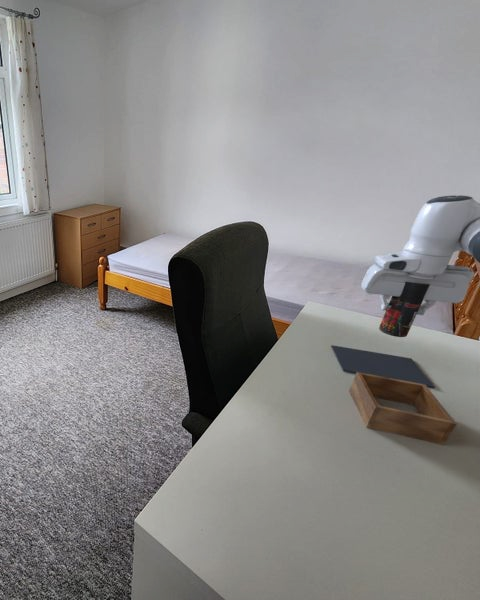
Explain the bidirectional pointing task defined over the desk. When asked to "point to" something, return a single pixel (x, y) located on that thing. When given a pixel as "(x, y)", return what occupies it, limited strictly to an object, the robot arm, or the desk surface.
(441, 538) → the desk surface
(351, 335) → the desk surface
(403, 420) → the wooden box
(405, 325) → the deodorant
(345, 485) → the desk surface
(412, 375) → the desk mat
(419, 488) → the desk surface
